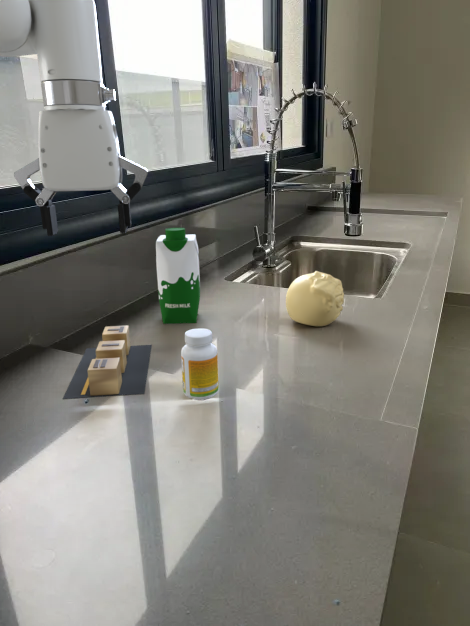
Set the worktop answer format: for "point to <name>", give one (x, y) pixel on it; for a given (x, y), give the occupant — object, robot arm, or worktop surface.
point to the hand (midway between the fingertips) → (88, 233)
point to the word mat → (131, 377)
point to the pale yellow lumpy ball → (315, 299)
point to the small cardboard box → (117, 335)
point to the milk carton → (178, 276)
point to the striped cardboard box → (104, 376)
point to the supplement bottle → (199, 365)
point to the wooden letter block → (113, 351)
